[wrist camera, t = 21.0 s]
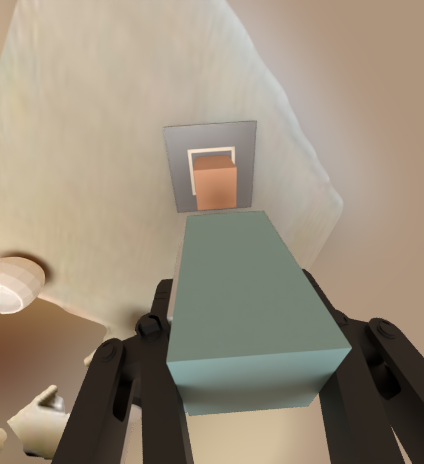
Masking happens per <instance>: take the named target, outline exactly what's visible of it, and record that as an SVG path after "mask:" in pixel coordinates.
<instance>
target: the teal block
mask: <svg viewBox="0 0 424 464" xmlns="http://www.w3.org/2000/svg"><path fill="white" fill-rule="evenodd" d="M351 349H352V347H351V345H350V344H349V342H348V341H347V339H346V338H345V336H344V335H343V333H342V331H341V330H340V328H339V327H338V325H337V324H336V322H335V321H334V319H333V318H332V316H331V314H330V313H329V311H328V310H327V308H326V307H325V305H324V304H323V302H322V300H321V299H320V297H319V296H318V294H317V293H316V291H315V290H314V288H313V287H312V285H311V283H310V282H309V280H308V279H307V277H306V276H305V274H304V273H303V271H302V269H301V268H300V266H299V265H298V263H297V262H296V260H295V259H294V257H293V256H292V254H291V252H290V251H289V249H288V248H287V246H286V245H285V243H284V242H283V240H282V238H281V237H280V235H279V234H278V232H277V231H276V229H275V228H274V226H273V225H272V223H271V221H270V220H269V218H268V217H267V215H266V214H265V212H264V211H252V212H237V213H223V214H209V215H195V216H187V222H186V229H185V236H184V243H183V250H182V257H181V264H180V270H179V277H178V284H177V291H176V298H175V305H174V312H173V319H172V326H171V333H170V340H169V347H168V354H167V361H166V363H167V365H168V368H169V370H170V372H171V375H172V377H173V379H174V382H175V384H176V386H177V389H178V391H179V393H180V396H181V398H182V400H183V403H184V405H185V407H186V409H187V412H188V414H189V416H192V415H206V414H218V413H230V412H243V411H256V410H268V409H279V408H293V407H305V406H309V404H310V403H311V402H312V401H313V399H314V398H315V397H316V395H317V394H318V393H319V391H320V390H321V389H322V387H323V386H324V385H325V383H326V382H327V381H328V379H329V378H330V377H331V375H332V374H333V373H334V371H335V370H336V369H337V367H338V366H339V365H340V363H341V362H342V361H343V359H344V358H345V357H346V355H347V354H348V353H349V351H350V350H351Z"/></svg>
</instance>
